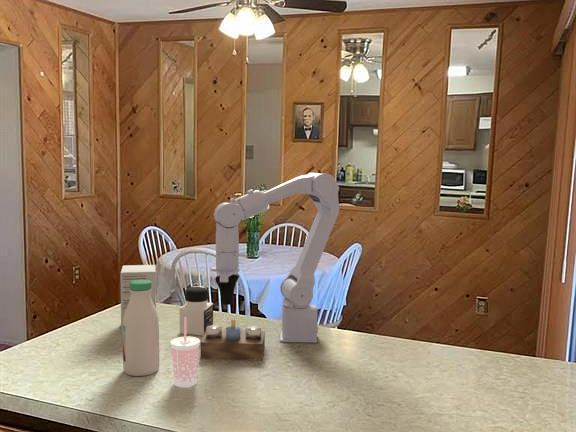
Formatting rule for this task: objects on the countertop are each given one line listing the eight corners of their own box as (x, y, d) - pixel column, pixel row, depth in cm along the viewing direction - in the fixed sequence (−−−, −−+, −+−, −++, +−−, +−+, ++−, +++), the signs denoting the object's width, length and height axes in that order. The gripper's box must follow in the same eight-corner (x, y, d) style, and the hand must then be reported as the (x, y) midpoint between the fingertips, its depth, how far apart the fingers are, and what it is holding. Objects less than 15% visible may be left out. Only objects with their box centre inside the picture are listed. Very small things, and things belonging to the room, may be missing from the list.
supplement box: (122, 323, 151) (122, 265, 149) (156, 322, 153) (156, 264, 151) (120, 334, 141) (119, 272, 140) (156, 332, 144) (156, 271, 142)
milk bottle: (166, 367, 120) (166, 279, 118) (143, 379, 113) (142, 287, 111) (139, 361, 123) (138, 276, 121) (115, 373, 116) (114, 283, 114)
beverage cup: (206, 380, 113) (206, 316, 112) (187, 391, 108) (187, 324, 106) (183, 374, 116) (183, 311, 115) (164, 384, 111) (163, 319, 109)
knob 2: (261, 349, 132) (261, 326, 131) (260, 354, 128) (260, 331, 127) (246, 348, 132) (246, 325, 131) (244, 354, 128) (244, 330, 127)
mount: (264, 346, 134) (264, 331, 134) (262, 360, 125) (262, 343, 125) (206, 345, 134) (206, 330, 134) (200, 358, 125) (200, 342, 125)
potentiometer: (241, 335, 130) (241, 318, 130) (239, 340, 127) (239, 322, 126) (227, 335, 130) (227, 317, 130) (225, 340, 127) (225, 322, 126)
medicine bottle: (204, 335, 142) (204, 291, 140) (179, 333, 143) (178, 289, 142) (213, 327, 149) (213, 285, 147) (189, 325, 150) (189, 283, 149)
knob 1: (222, 348, 132) (223, 325, 131) (220, 353, 128) (220, 330, 127) (207, 347, 132) (207, 325, 131) (204, 353, 128) (205, 329, 127)
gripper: (215, 245, 141) (215, 296, 142) (206, 256, 126) (207, 311, 128) (241, 246, 141) (241, 296, 142) (236, 256, 126) (236, 312, 128)
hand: (227, 304), depth 135 cm, fingers closed
